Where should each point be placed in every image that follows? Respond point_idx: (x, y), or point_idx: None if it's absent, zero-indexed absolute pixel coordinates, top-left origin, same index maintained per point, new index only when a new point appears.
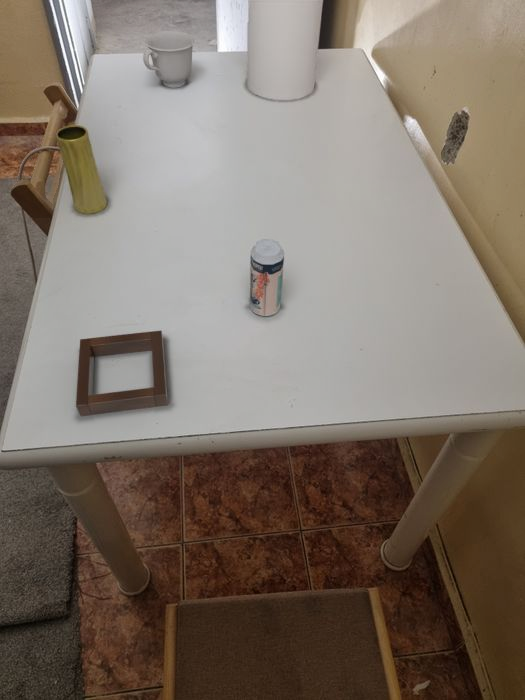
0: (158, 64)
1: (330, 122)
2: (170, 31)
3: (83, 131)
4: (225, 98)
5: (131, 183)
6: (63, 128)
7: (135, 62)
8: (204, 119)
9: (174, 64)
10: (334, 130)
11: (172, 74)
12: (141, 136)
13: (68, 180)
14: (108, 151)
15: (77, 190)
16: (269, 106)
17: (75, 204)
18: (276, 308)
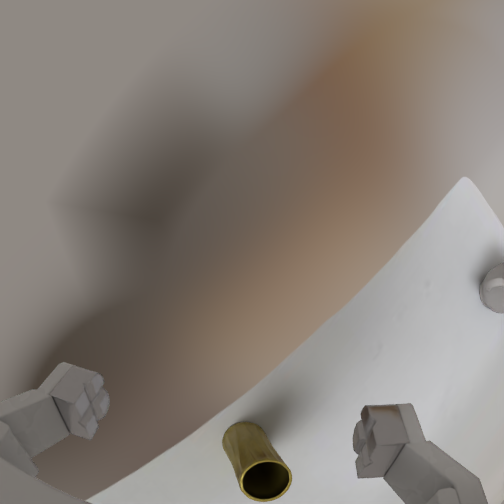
0: (494, 287)
1: (492, 472)
2: None
3: (288, 476)
4: (492, 366)
5: (311, 443)
6: (269, 461)
7: (484, 220)
8: (457, 388)
9: (502, 307)
10: (483, 486)
11: (492, 305)
12: (398, 365)
13: (231, 446)
14: (351, 362)
15: (229, 457)
16: (497, 412)
17: (225, 438)
18: None
